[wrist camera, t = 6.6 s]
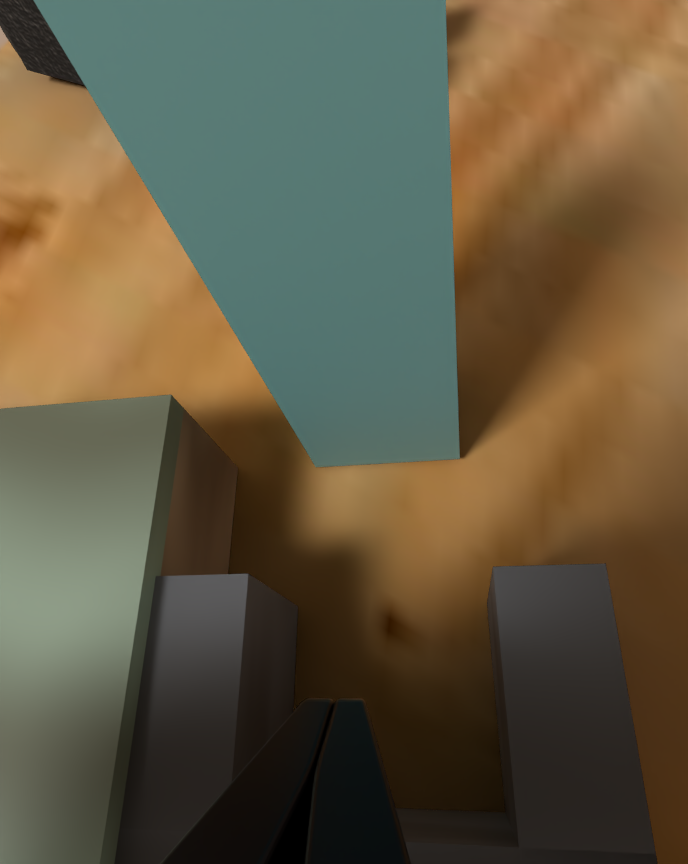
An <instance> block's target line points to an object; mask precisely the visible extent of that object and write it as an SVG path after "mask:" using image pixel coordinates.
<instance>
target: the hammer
mask: <svg viewBox="0 0 688 864" xmlns="http://www.w3.org/2000/svg"><path fill="white" fill-rule="evenodd" d="M0 26H1V28H2V30H3V32H4V33H5V35H6V37H7V38H8V40H9V41H10V43H11V45H12V46H13V48H14V49H15V51H16V52H17V53H18V55H19V56H20V57H21V59H22V61H23V63H24V65H25V67H26V69H27V70H29V71H33V72H37V73H40V74H44V75H48V76H51V77H55V78H59V79H63V80H66V81H70V82H74V83H78V84H81V85H84V83H83V81H82V80H81V78H80V76H79V75H78V73H77V71H76V70H75V68H74V66H73V65H72V63H71V61H70V60H69V58H68V57H67V55H66V53H65V52H64V50H63V48H62V47H61V45H60V43H59V42H58V40H57V38H56V37H55V35H54V33H53V32H52V30H51V28H50V27H49V25H48V23H47V22H46V20H45V18H44V17H43V15H42V14H41V12H40V10H39V9H38V7H37V5H36V4H35V2H34V0H0Z"/></svg>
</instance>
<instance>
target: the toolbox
mask: <svg viewBox="0 0 688 864" xmlns="http://www.w3.org/2000/svg"><path fill="white" fill-rule="evenodd" d="M237 473H238V467H237V466H236V465H235V464H234V463H233V462H232V461H231V459H230V458H229V457H228V456H227V455H226V454H225V453H224V452H223V451H222V450H221V449H220V447H219V446H218V445H217V444H216V443H215V442H214V441H213V440H212V439H211V438H210V437H209V435H208V434H207V433H206V432H205V431H204V430H203V429H202V428H201V427H200V426H199V425H198V423H197V422H196V421H195V420H194V419H193V418H192V417H191V416H190V415H189V414H188V413H187V411H186V410H185V409H184V408H183V407H182V406H181V405H180V404H179V403H178V402H177V401H176V399H175V398H174V397H173V396H172V395H161V396H149V397H137V398H125V399H113V400H101V401H89V402H77V403H65V404H52V405H40V406H28V407H16V408H4V409H0V864H160V863H161V862H162V861H163V860H164V858H165V857H166V856H167V855H168V854H169V853H170V852H171V850H172V849H173V848H174V847H175V846H176V845H177V844H178V842H179V841H180V840H181V839H182V838H183V837H184V836H185V835H186V833H187V832H188V831H189V830H190V829H191V828H192V827H193V825H194V824H195V823H196V822H197V821H198V820H199V819H200V817H201V816H202V815H203V814H204V813H205V812H206V811H207V809H208V808H209V807H210V806H211V805H212V804H213V803H214V802H215V800H216V799H217V798H218V797H219V796H220V795H221V794H222V792H223V791H224V790H225V789H226V788H227V787H228V786H229V784H230V783H231V782H232V781H233V780H234V779H235V778H236V776H237V775H238V774H239V773H240V772H241V771H242V770H243V769H244V767H245V766H246V765H247V764H248V763H249V762H250V761H251V759H252V758H253V757H254V756H255V755H256V754H257V753H258V751H259V750H260V749H261V748H262V747H263V746H264V745H265V743H266V742H267V741H268V740H269V739H270V738H271V737H272V736H273V734H274V733H275V732H276V731H277V730H278V729H279V728H280V726H281V725H282V724H283V723H284V722H285V721H286V720H287V718H288V717H289V716H290V715H291V714H292V713H293V710H294V687H295V664H296V641H297V618H298V606H297V605H295V604H294V603H292V602H291V601H289V600H288V599H286V598H285V597H283V596H281V595H280V594H278V593H277V592H275V591H274V590H272V589H271V588H269V587H268V586H266V585H265V584H263V583H262V582H260V581H259V580H257V579H256V578H254V577H253V576H251V575H250V574H228V569H229V558H230V547H231V537H232V526H233V515H234V505H235V494H236V483H237ZM487 608H488V620H489V631H490V643H491V654H492V666H493V678H494V689H495V701H496V712H497V724H498V736H499V747H500V759H501V770H502V782H503V793H504V805H505V812H483V811H457V810H431V809H406V808H396V811H397V815H398V818H399V822H400V825H401V829H402V832H403V836H404V840H405V843H406V847H407V850H408V854H409V857H410V861H411V864H657V858H656V852H655V846H654V840H653V835H652V829H651V823H650V817H649V811H648V806H647V800H646V794H645V788H644V783H643V777H642V771H641V765H640V759H639V754H638V748H637V742H636V736H635V730H634V725H633V719H632V713H631V707H630V701H629V696H628V690H627V684H626V678H625V672H624V667H623V661H622V655H621V649H620V643H619V638H618V632H617V626H616V620H615V614H614V609H613V603H612V597H611V591H610V585H609V580H608V574H607V568H606V564H573V565H538V566H502V567H493V570H492V576H491V582H490V588H489V594H488V600H487Z"/></svg>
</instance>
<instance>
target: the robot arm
mask: <svg viewBox="0 0 688 864" xmlns="http://www.w3.org/2000/svg"><path fill="white" fill-rule="evenodd" d="M160 864H411V861H410V857H409V854H408V850H407V847H406V843H405V840H404V836H403V832H402V829H401V825H400V822H399V818H398V815H397V811H396V807H395V804H394V800H393V797H392V793H391V790H390V786H389V783H388V779H387V775H386V772H385V768H384V765H383V761H382V758H381V754H380V750H379V747H378V743H377V740H376V736H375V733H374V729H373V725H372V722H371V718H370V715H369V711H368V708H367V704H366V702H365V700H364V699H361V698H339V699H337V700H336V701H334V700H333V699H331V698H307V699H305V700H304V701H303V702H302V703H301V704H300V705H299V706H298V707H297V708H296V709H295V710H294V712H293V713H292V714H291V715H290V716H289V717H288V718H287V720H286V721H285V722H284V723H283V724H282V725H281V726H280V728H279V729H278V730H277V731H276V732H275V733H274V734H273V736H272V737H271V738H270V739H269V740H268V741H267V742H266V743H265V745H264V746H263V747H262V748H261V749H260V750H259V751H258V753H257V754H256V755H255V756H254V757H253V758H252V759H251V761H250V762H249V763H248V764H247V765H246V766H245V767H244V769H243V770H242V771H241V772H240V773H239V774H238V775H237V776H236V778H235V779H234V780H233V781H232V782H231V783H230V784H229V786H228V787H227V788H226V789H225V790H224V791H223V792H222V794H221V795H220V796H219V797H218V798H217V799H216V800H215V802H214V803H213V804H212V805H211V806H210V807H209V808H208V809H207V811H206V812H205V813H204V814H203V815H202V816H201V817H200V819H199V820H198V821H197V822H196V823H195V824H194V825H193V827H192V828H191V829H190V830H189V831H188V832H187V833H186V835H185V836H184V837H183V838H182V839H181V840H180V841H179V842H178V844H177V845H176V846H175V847H174V848H173V849H172V850H171V852H170V853H169V854H168V855H167V856H166V857H165V858H164V860H163V861H162V862H161V863H160Z"/></svg>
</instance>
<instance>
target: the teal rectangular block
mask: <svg viewBox="0 0 688 864" xmlns="http://www.w3.org/2000/svg"><path fill="white" fill-rule="evenodd" d="M34 2H35V4H36V5H37V7H38V9H39V10H40V12H41V14H42V15H43V17H44V18H45V20H46V22H47V23H48V25H49V27H50V28H51V30H52V32H53V33H54V35H55V37H56V38H57V40H58V42H59V43H60V45H61V47H62V48H63V50H64V52H65V53H66V55H67V57H68V58H69V60H70V61H71V63H72V65H73V66H74V68H75V70H76V71H77V73H78V75H79V76H80V78H81V80H82V81H83V83H84V85H85V86H86V88H87V90H88V91H89V93H90V95H91V96H92V98H93V99H94V101H95V103H96V104H97V106H98V108H99V109H100V111H101V113H102V114H103V116H104V118H105V119H106V121H107V123H108V124H109V126H110V128H111V129H112V131H113V133H114V134H115V136H116V138H117V139H118V141H119V142H120V144H121V146H122V147H123V149H124V151H125V152H126V154H127V156H128V157H129V159H130V161H131V162H132V164H133V166H134V167H135V169H136V171H137V172H138V174H139V176H140V177H141V179H142V181H143V182H144V184H145V185H146V187H147V189H148V190H149V192H150V194H151V195H152V197H153V199H154V200H155V202H156V204H157V205H158V207H159V209H160V210H161V212H162V214H163V215H164V217H165V219H166V220H167V222H168V223H169V225H170V227H171V228H172V230H173V232H174V233H175V235H176V237H177V238H178V240H179V242H180V243H181V245H182V247H183V248H184V250H185V252H186V253H187V255H188V257H189V258H190V260H191V262H192V263H193V265H194V266H195V268H196V270H197V271H198V273H199V275H200V276H201V278H202V280H203V281H204V283H205V285H206V286H207V288H208V290H209V291H210V293H211V295H212V296H213V298H214V300H215V301H216V303H217V305H218V306H219V308H220V309H221V311H222V313H223V314H224V316H225V318H226V319H227V321H228V323H229V324H230V326H231V328H232V329H233V331H234V333H235V334H236V336H237V338H238V339H239V341H240V343H241V344H242V346H243V347H244V349H245V351H246V352H247V354H248V356H249V357H250V359H251V361H252V362H253V364H254V366H255V367H256V369H257V371H258V372H259V374H260V376H261V377H262V379H263V381H264V382H265V384H266V386H267V387H268V389H269V390H270V392H271V394H272V395H273V397H274V399H275V400H276V402H277V404H278V405H279V407H280V409H281V410H282V412H283V414H284V415H285V417H286V419H287V420H288V422H289V424H290V425H291V427H292V429H293V430H294V432H295V433H296V435H297V437H298V438H299V440H300V442H301V443H302V445H303V447H304V448H305V450H306V452H307V453H308V455H309V457H310V458H311V460H312V462H313V463H314V465H315V467H329V466H346V465H364V464H381V463H398V462H415V461H432V460H450V459H460V449H459V417H458V384H457V352H456V320H455V288H454V256H453V224H452V191H451V159H450V127H449V95H448V63H447V31H446V0H34Z"/></svg>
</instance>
